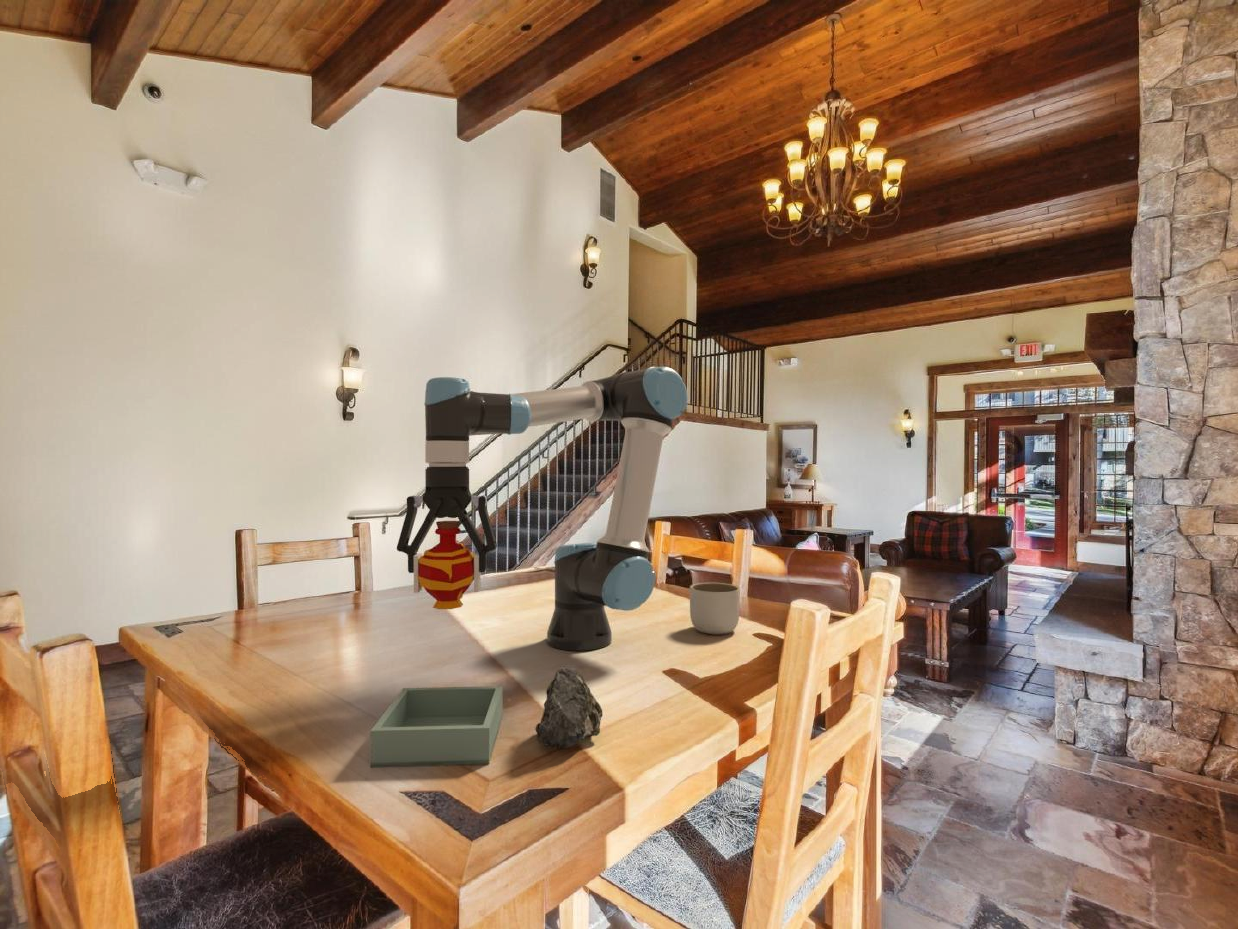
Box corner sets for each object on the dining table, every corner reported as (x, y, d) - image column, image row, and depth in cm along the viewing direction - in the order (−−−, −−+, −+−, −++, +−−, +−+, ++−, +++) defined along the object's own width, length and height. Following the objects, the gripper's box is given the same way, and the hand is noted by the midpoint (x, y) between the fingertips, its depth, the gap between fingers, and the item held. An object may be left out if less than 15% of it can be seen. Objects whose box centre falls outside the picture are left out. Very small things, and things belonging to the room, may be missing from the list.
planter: (703, 621, 163) (704, 580, 163) (747, 629, 156) (747, 586, 156) (680, 632, 153) (680, 588, 153) (726, 640, 145) (726, 594, 145)
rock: (538, 703, 100) (555, 655, 96) (595, 718, 100) (613, 671, 97) (526, 764, 88) (544, 712, 85) (589, 781, 89) (610, 730, 86)
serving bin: (502, 716, 101) (502, 686, 101) (489, 764, 85) (489, 728, 85) (403, 718, 100) (403, 688, 100) (370, 767, 84) (370, 730, 84)
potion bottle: (488, 601, 112) (488, 520, 112) (455, 615, 103) (455, 525, 102) (440, 597, 116) (439, 518, 116) (403, 610, 106) (403, 523, 106)
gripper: (513, 465, 114) (513, 585, 114) (389, 465, 112) (389, 587, 112) (508, 465, 106) (508, 594, 106) (376, 465, 104) (376, 596, 105)
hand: (447, 590), depth 109 cm, fingers closed on potion bottle, 10 cm apart
